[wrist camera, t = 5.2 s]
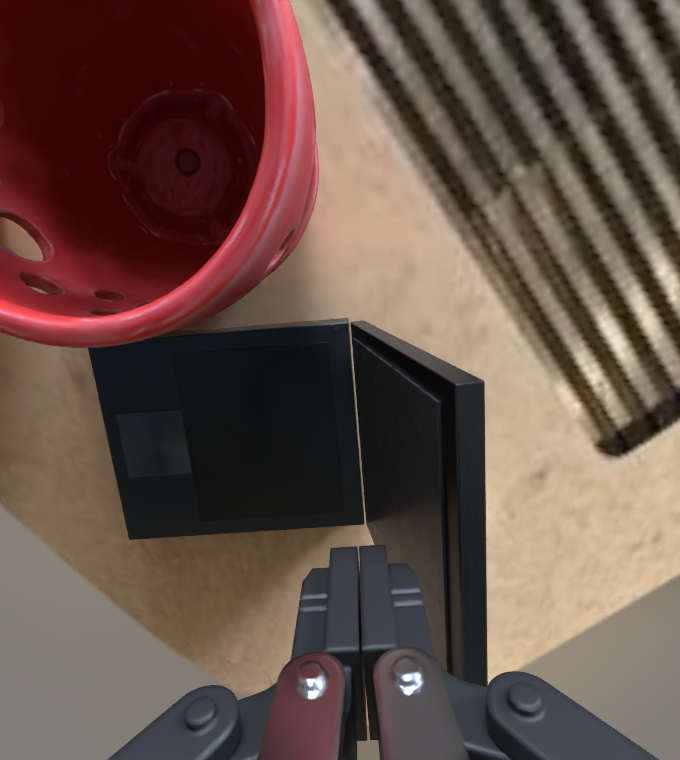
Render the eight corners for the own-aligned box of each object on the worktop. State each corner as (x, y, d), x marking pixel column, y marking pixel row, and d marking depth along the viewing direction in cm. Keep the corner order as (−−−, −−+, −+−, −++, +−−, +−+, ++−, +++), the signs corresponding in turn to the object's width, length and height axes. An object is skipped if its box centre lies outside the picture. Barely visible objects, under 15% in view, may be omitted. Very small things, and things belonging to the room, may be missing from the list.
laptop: (142, 522, 28) (127, 541, 26) (104, 337, 25) (85, 343, 23) (363, 508, 27) (364, 525, 25) (348, 317, 25) (348, 322, 23)
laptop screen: (461, 770, 13) (489, 763, 13) (451, 385, 10) (485, 380, 10) (364, 525, 25) (378, 522, 26) (348, 322, 23) (364, 320, 23)
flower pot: (210, -47, 21) (38, -437, 9) (380, 209, 23) (412, 154, 12) (3, 143, 23) (-355, 18, 11) (179, 359, 25) (35, 442, 14)
